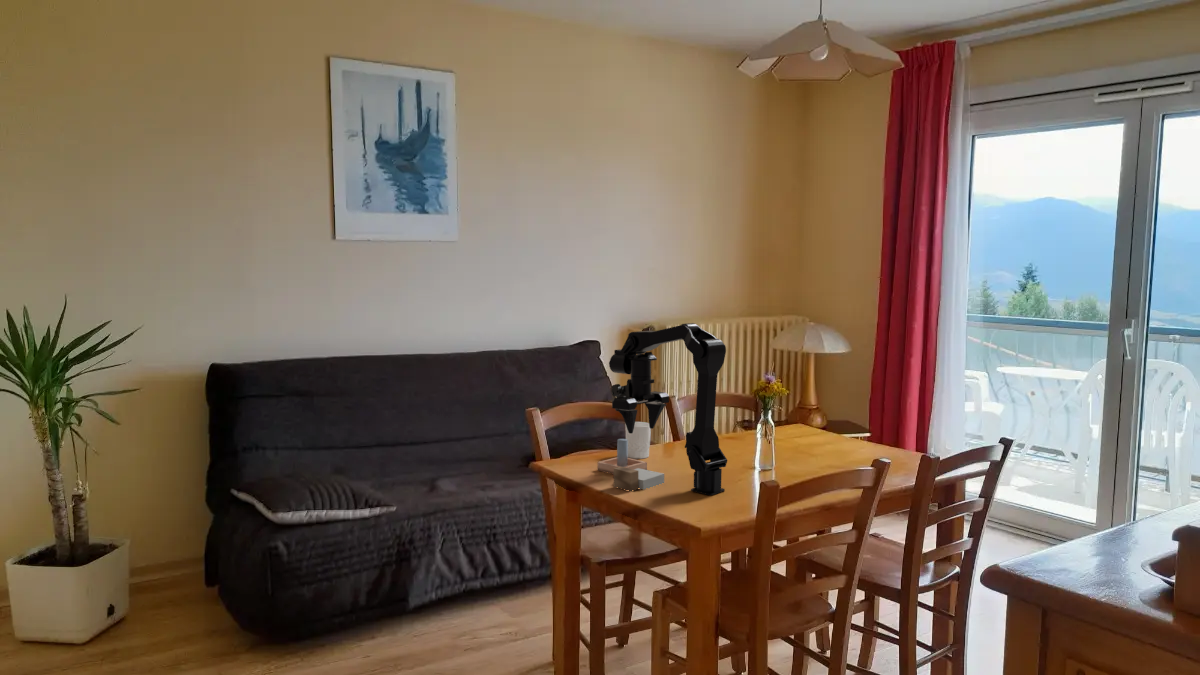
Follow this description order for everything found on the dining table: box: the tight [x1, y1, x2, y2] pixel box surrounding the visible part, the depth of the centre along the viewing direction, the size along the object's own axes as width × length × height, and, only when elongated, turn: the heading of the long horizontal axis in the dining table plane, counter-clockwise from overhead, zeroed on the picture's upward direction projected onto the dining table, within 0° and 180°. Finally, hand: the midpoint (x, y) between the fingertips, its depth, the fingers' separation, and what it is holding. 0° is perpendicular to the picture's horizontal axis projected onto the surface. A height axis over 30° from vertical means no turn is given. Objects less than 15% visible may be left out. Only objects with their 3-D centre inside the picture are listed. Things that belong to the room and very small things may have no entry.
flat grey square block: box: [634, 468, 665, 491], centre depth 219 cm, size 9×9×3 cm
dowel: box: [616, 438, 629, 467], centre depth 233 cm, size 3×3×8 cm
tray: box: [597, 456, 648, 475], centre depth 233 cm, size 10×10×2 cm
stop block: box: [613, 467, 639, 492], centre depth 215 cm, size 6×3×5 cm, turn 46°
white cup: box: [624, 421, 652, 460], centre depth 250 cm, size 8×8×10 cm
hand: (641, 430), depth 230 cm, fingers open, 9 cm apart
